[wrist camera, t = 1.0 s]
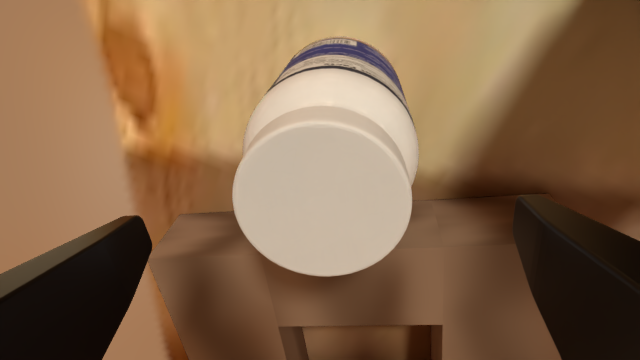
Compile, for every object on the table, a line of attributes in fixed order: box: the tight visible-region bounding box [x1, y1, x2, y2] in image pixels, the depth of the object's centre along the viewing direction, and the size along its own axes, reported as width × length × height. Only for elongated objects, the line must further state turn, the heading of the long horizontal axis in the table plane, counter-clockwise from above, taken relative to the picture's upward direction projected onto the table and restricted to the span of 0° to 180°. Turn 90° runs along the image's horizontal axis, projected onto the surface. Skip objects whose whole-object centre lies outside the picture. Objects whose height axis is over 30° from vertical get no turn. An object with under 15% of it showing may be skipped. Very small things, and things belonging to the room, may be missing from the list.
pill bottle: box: [232, 36, 419, 277], centre depth 14 cm, size 6×6×10 cm
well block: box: [148, 193, 561, 360], centre depth 24 cm, size 20×18×4 cm
